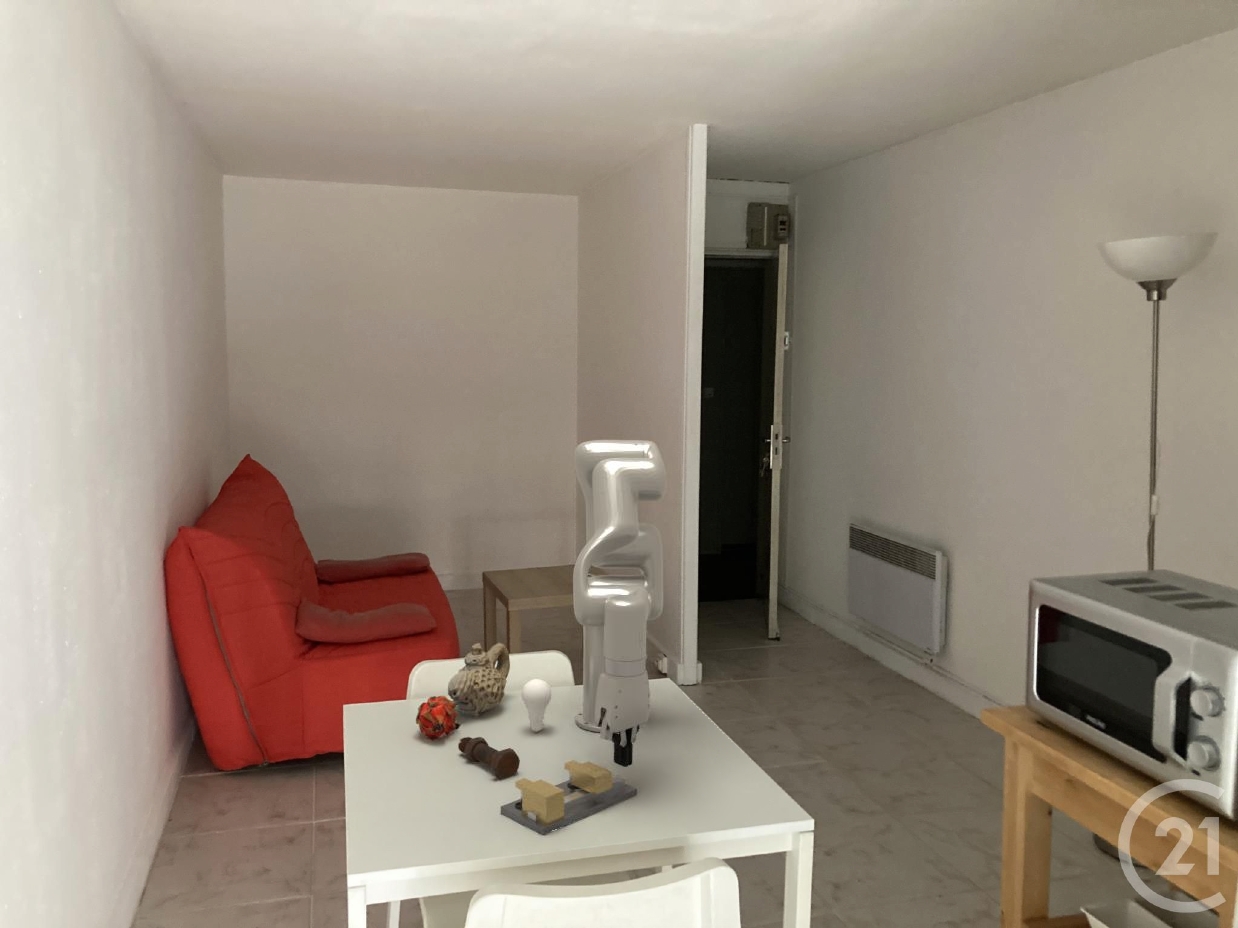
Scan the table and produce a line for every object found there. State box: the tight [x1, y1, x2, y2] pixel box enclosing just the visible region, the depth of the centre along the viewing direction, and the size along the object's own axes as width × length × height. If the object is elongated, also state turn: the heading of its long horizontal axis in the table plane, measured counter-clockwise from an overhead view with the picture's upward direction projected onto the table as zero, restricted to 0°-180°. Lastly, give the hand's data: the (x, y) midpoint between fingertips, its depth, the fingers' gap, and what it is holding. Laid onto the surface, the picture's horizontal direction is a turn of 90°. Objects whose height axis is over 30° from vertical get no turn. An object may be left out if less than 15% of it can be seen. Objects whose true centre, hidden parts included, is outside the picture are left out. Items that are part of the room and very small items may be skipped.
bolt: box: [457, 736, 521, 780], centre depth 192 cm, size 6×5×15 cm
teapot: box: [447, 642, 511, 717], centre depth 221 cm, size 21×12×15 cm, turn 155°
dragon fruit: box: [415, 695, 462, 742], centre depth 207 cm, size 8×8×12 cm
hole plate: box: [500, 775, 638, 836], centre depth 176 cm, size 22×11×6 cm, turn 135°
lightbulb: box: [521, 678, 552, 733], centre depth 209 cm, size 6×6×11 cm
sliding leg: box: [563, 760, 613, 795], centre depth 178 cm, size 4×9×4 cm, turn 45°
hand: (623, 763), depth 183 cm, fingers closed
